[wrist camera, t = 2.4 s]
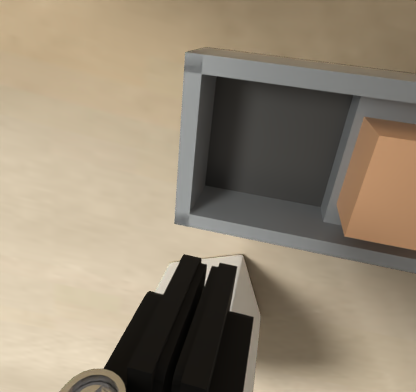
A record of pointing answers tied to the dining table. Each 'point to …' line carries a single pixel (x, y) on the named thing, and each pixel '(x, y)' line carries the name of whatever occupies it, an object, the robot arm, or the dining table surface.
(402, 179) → the block
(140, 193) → the dining table surface
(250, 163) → the gray cradle tray
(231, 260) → the milk carton
